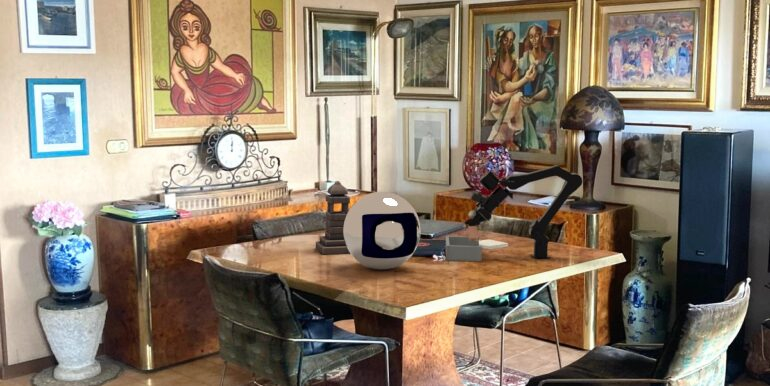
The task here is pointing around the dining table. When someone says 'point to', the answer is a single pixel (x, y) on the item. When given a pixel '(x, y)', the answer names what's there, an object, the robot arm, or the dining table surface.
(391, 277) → the dining table surface
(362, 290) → the dining table surface
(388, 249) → the spherical light
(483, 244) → the ceramic tile
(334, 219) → the miniature tower
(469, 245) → the open crate
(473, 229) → the grandmother figurine
